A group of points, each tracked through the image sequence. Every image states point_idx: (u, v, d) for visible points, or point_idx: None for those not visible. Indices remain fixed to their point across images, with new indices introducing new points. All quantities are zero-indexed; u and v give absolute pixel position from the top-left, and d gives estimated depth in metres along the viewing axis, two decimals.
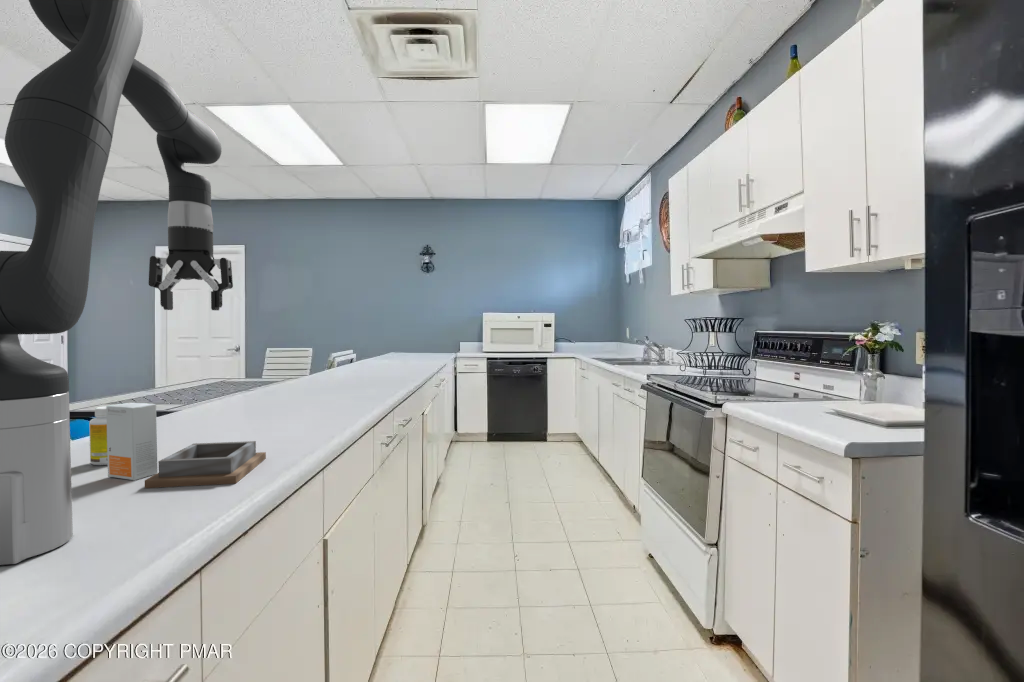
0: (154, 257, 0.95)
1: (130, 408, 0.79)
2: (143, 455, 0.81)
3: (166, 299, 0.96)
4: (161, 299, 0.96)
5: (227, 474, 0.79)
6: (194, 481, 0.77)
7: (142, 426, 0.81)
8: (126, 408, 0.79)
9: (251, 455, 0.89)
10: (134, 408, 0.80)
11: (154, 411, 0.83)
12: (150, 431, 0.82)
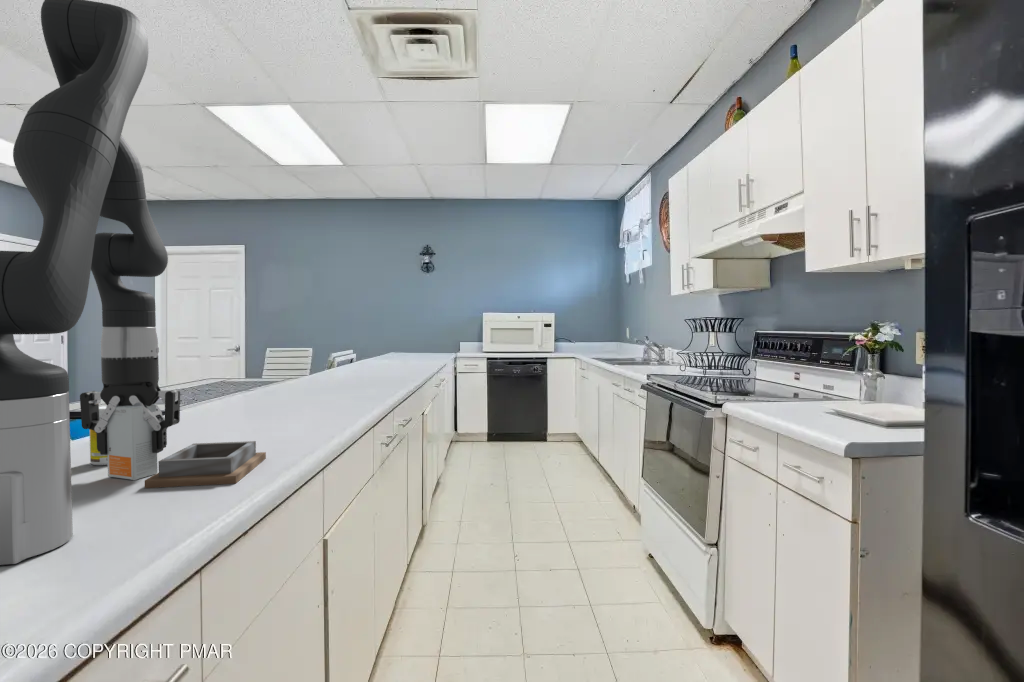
0: (85, 394, 0.80)
1: (130, 408, 0.79)
2: (143, 455, 0.81)
3: (103, 443, 0.80)
4: (98, 443, 0.81)
5: (227, 474, 0.79)
6: (194, 481, 0.77)
7: (142, 426, 0.81)
8: (126, 408, 0.79)
9: (251, 455, 0.89)
10: (134, 408, 0.80)
11: (154, 411, 0.83)
12: (150, 431, 0.82)
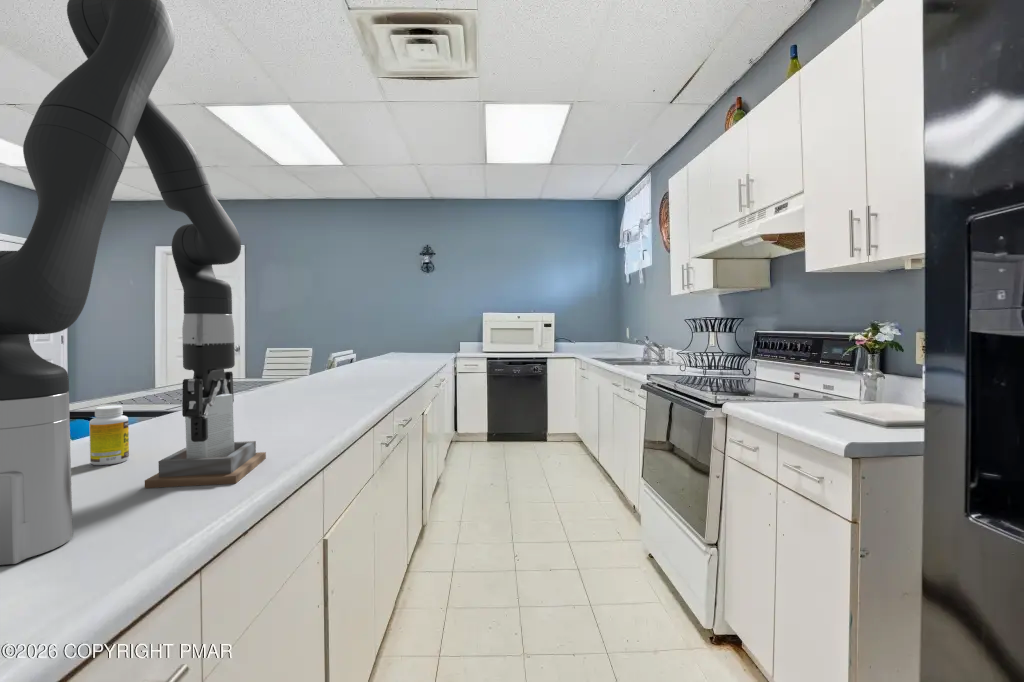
0: None
1: None
2: (193, 447, 0.81)
3: None
4: None
5: (227, 474, 0.79)
6: (194, 481, 0.77)
7: None
8: None
9: (251, 455, 0.89)
10: None
11: None
12: None
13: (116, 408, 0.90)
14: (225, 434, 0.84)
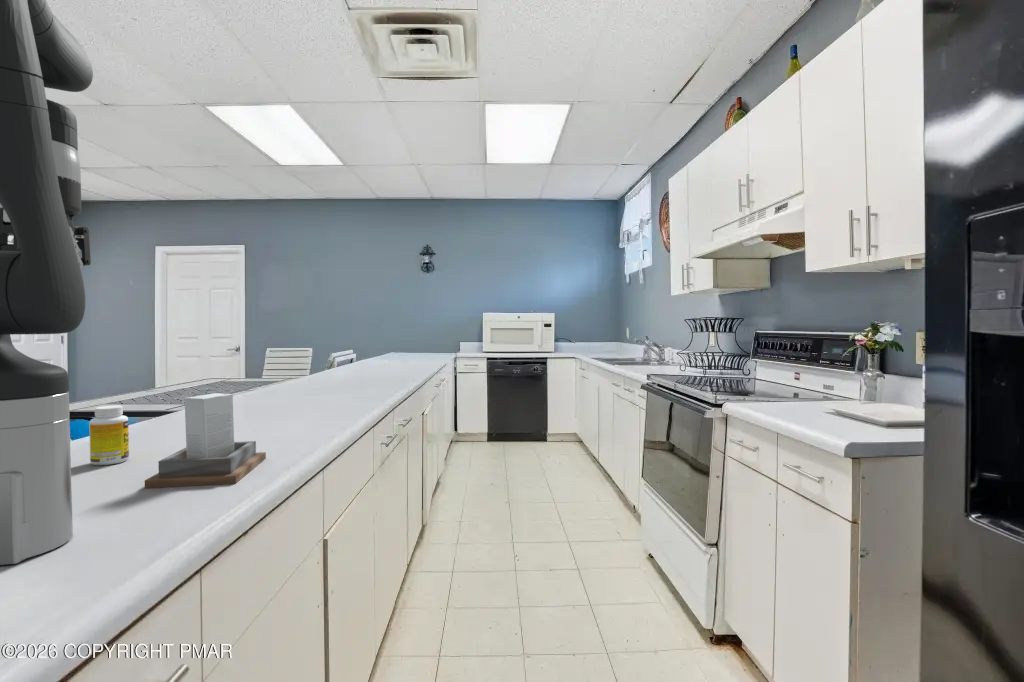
0: None
1: (186, 398, 0.82)
2: (193, 447, 0.81)
3: None
4: None
5: (227, 474, 0.79)
6: (194, 481, 0.77)
7: (192, 418, 0.81)
8: None
9: (251, 455, 0.89)
10: (186, 399, 0.81)
11: (201, 406, 0.81)
12: (198, 425, 0.81)
13: (116, 408, 0.90)
14: (225, 434, 0.84)
